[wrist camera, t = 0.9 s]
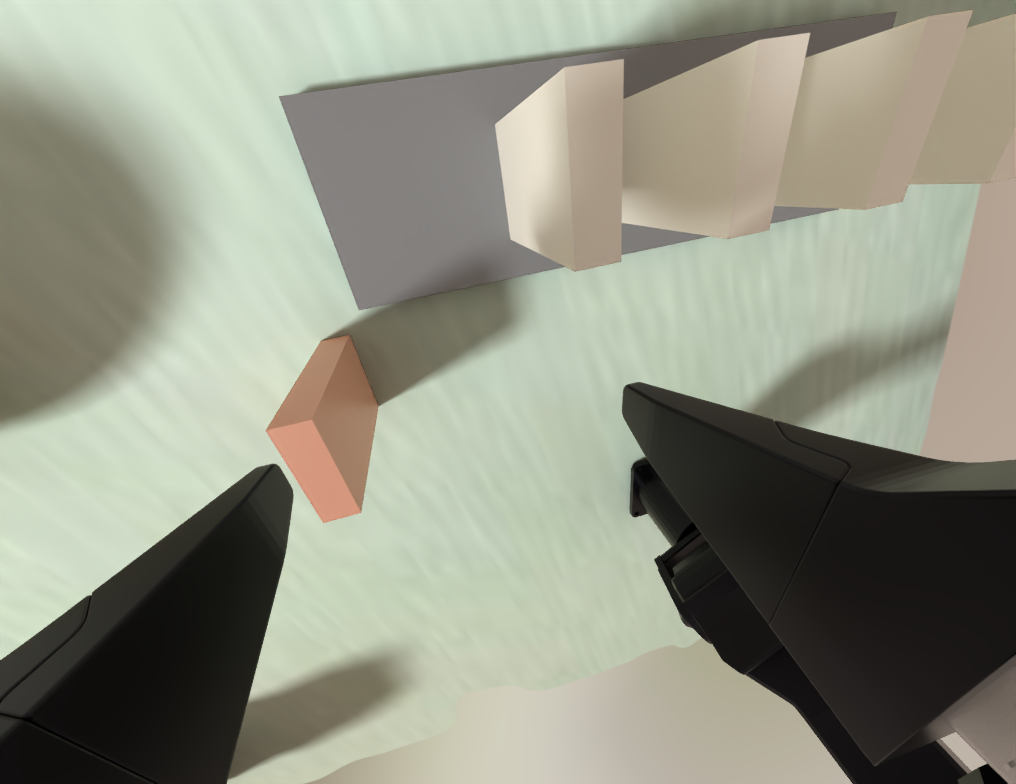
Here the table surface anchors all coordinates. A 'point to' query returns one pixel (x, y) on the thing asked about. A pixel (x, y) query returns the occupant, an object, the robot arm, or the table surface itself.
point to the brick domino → (329, 429)
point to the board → (469, 163)
